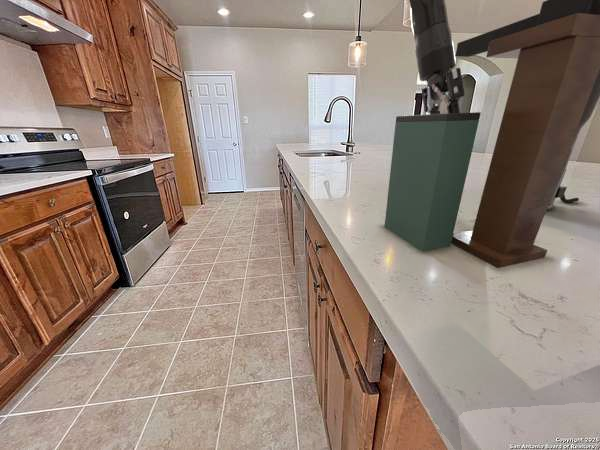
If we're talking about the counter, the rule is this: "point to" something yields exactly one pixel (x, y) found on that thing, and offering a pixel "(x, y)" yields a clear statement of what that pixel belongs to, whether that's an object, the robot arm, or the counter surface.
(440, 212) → the dark green tall block
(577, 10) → the pad strip
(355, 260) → the counter surface
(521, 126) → the shelf stand
